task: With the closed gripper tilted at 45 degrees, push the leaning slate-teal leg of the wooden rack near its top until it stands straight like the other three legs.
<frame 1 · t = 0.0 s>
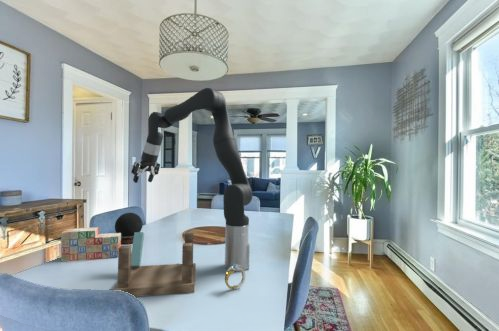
hand: (142, 181, 130), 31 cm above the table, tool tilted 20°, fingers open, 8 cm apart
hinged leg: (137, 249, 96), point 9 cm above the table, hinge at 30.0°
wooden rack: (159, 282, 88), on the table
stack of blocks: (92, 257, 111), on the table
bracelet: (234, 289, 84), on the table
black ball on pedestal: (128, 241, 134), on the table
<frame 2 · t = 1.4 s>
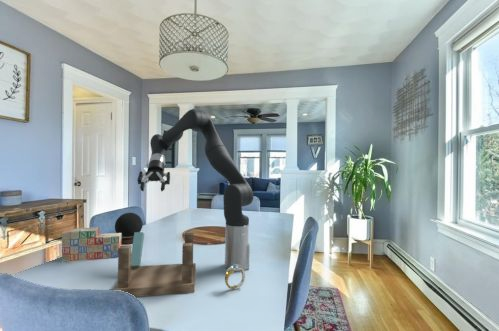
hand: (152, 190, 116), 29 cm above the table, tool tilted 45°, fingers open, 8 cm apart
nothing on the table moved.
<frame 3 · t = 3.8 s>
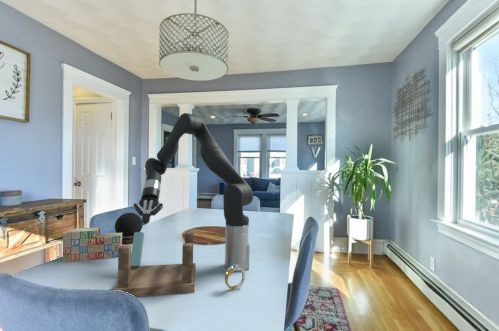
hand: (145, 222, 109), 16 cm above the table, tool tilted 45°, fingers closed
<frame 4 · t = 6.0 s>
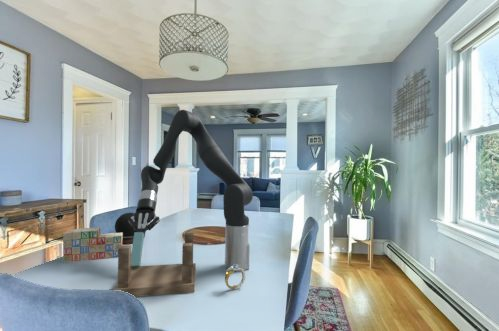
hand: (140, 238, 100), 11 cm above the table, tool tilted 45°, fingers closed
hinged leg: (137, 249, 96), point 9 cm above the table, hinge at 30.0°, touching gripper
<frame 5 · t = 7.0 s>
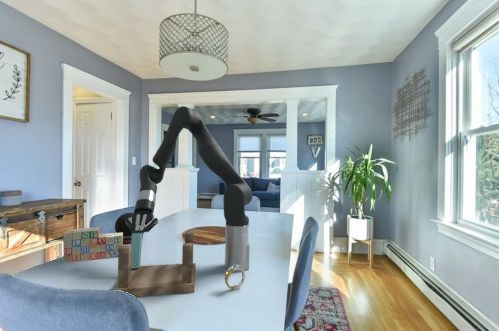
hand: (137, 241, 97), 11 cm above the table, tool tilted 45°, fingers closed
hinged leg: (136, 250, 94), point 9 cm above the table, hinge at 13.0°, touching gripper
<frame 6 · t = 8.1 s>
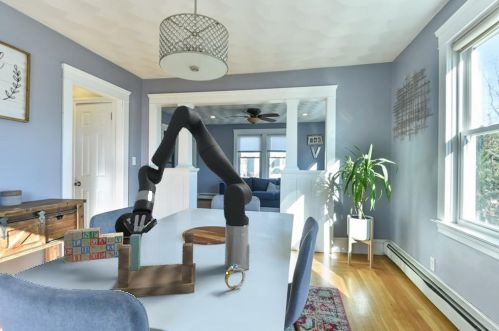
hand: (136, 242, 95), 12 cm above the table, tool tilted 45°, fingers closed
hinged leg: (135, 251, 93), point 9 cm above the table, hinge at 0.9°, touching gripper
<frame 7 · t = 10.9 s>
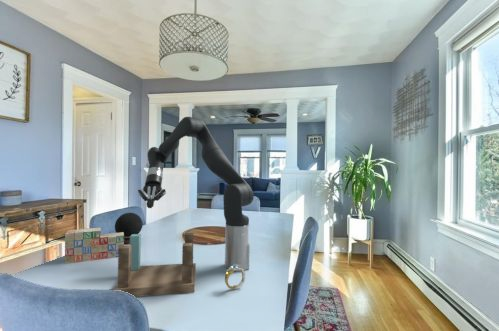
hand: (149, 207, 116), 21 cm above the table, tool tilted 45°, fingers closed
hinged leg: (135, 251, 93), point 9 cm above the table, hinge at 0.8°
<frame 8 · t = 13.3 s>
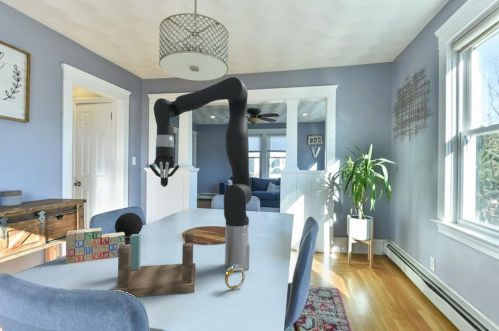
hand: (164, 186, 110), 31 cm above the table, tool pointing down, fingers closed
at the end: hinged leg at +1° (first picture: +30°) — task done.
